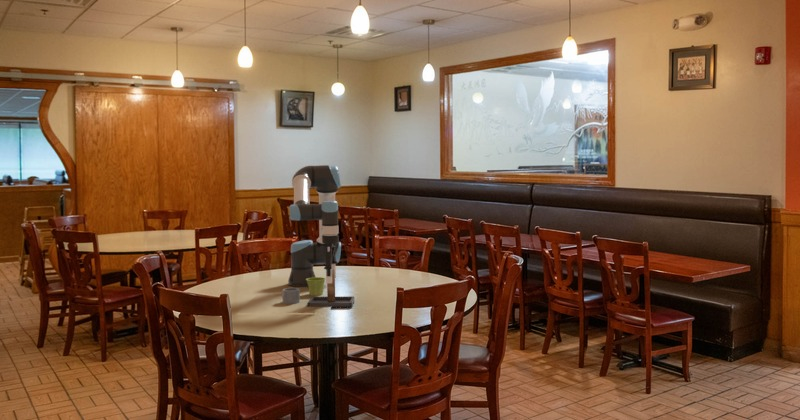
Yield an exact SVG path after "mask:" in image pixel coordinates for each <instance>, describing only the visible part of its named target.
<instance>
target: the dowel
mask: <svg viewBox="0 0 800 420" xmlns="http://www.w3.org/2000/svg"><path fill="white" fill-rule="evenodd" d="M326 294H327V295H326V297H327V303H333V302H335V297H336V278H335V268H332V283H326Z"/></svg>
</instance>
